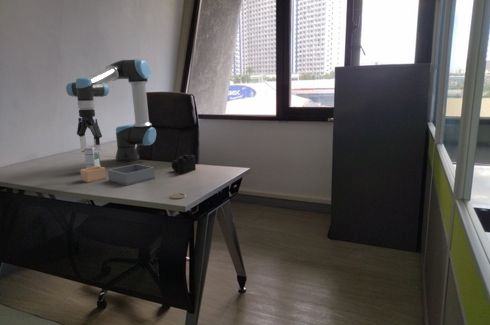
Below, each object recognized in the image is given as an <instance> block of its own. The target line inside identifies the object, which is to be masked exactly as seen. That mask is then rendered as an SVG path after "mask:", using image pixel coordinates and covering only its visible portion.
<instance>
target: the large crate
mask: <svg viewBox="0 0 490 325" xmlns="http://www.w3.org/2000/svg"><path fill="white" fill-rule="evenodd" d="M107 172H108V173H107V174H108V182H112V183H114V184H115V183H116V184H119V185H123V186H131V185H135V184H137V183H142V182H146V181H149V180H153V179H155V176H156V175H155V167H154V166H149V165H143V164H140V163H134V164H129V165H125V166H119V167H115V168H110V169H107Z"/></svg>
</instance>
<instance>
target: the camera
mask: <svg viewBox="0 0 490 325" xmlns="http://www.w3.org/2000/svg"><path fill="white" fill-rule="evenodd" d="M171 169H172V170H173V171H176V172H177V174H178V175H185V174H188V173H191V172H193V171H194V172H195V170H197V167H196V155H195V154H190V155H188V154H185V155H181V156H179V158H177V159H174V160H172V162H171Z"/></svg>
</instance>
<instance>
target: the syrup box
mask: <svg viewBox="0 0 490 325" xmlns="http://www.w3.org/2000/svg"><path fill="white" fill-rule="evenodd" d="M83 152H84V159H85V165H86V166H85V169H86V168H91V167H96V166H100V167H102V166H101V158H100V151H95V148H94V145H93V146H86V148H84V149H83Z"/></svg>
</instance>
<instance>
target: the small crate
mask: <svg viewBox="0 0 490 325" xmlns="http://www.w3.org/2000/svg"><path fill="white" fill-rule="evenodd" d="M106 174H107V173H106V167H104V166H103V167H102V166H101V167H100V166H96V167H91V168H86V167H85V168H81V169H80V179H81V181H82V182H85V183H88V184H89V183H93V182H97V181H102V180H105V179H107V177H106V176H107V175H106Z"/></svg>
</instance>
